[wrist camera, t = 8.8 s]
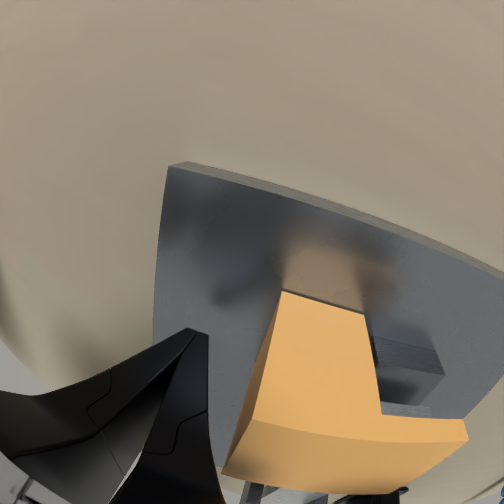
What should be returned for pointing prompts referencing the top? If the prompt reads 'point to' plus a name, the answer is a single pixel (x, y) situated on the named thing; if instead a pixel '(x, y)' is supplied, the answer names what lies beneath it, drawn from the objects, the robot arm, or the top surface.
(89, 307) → the top surface
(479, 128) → the top surface
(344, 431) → the block
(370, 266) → the base
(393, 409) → the strap
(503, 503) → the grapes
